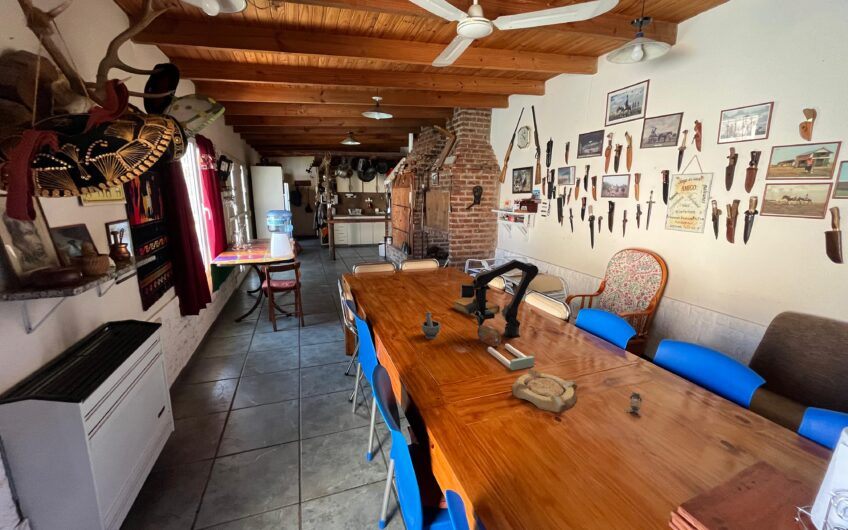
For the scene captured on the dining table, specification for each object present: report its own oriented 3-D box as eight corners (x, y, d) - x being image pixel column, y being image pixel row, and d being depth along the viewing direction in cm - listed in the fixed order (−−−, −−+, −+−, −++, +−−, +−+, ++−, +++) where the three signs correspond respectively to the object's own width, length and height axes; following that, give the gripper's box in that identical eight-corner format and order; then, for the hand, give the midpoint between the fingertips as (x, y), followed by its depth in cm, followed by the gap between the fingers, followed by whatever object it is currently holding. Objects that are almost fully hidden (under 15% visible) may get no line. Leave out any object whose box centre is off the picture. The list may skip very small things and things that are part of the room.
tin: (476, 338, 177) (477, 322, 175) (481, 337, 178) (482, 321, 177) (497, 349, 164) (498, 332, 162) (502, 347, 166) (503, 331, 164)
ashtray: (546, 421, 112) (547, 407, 111) (498, 386, 132) (498, 374, 132) (594, 401, 123) (596, 388, 122) (543, 372, 143) (544, 361, 142)
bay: (507, 347, 166) (508, 339, 165) (533, 365, 148) (534, 357, 147) (487, 351, 162) (488, 343, 161) (512, 370, 144) (512, 361, 143)
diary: (499, 313, 215) (500, 305, 214) (477, 319, 205) (477, 310, 204) (474, 304, 234) (474, 296, 233) (453, 309, 224) (453, 300, 223)
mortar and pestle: (442, 339, 175) (443, 316, 173) (425, 341, 173) (425, 318, 170) (435, 331, 186) (435, 309, 184) (419, 333, 183) (418, 311, 181)
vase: (625, 403, 121) (629, 388, 120) (643, 410, 118) (647, 395, 116) (623, 410, 117) (626, 395, 115) (641, 418, 114) (645, 402, 112)
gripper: (458, 294, 182) (458, 322, 185) (475, 304, 165) (474, 335, 168) (477, 292, 186) (476, 320, 189) (495, 302, 168) (494, 332, 171)
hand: (479, 326), depth 179 cm, fingers closed
